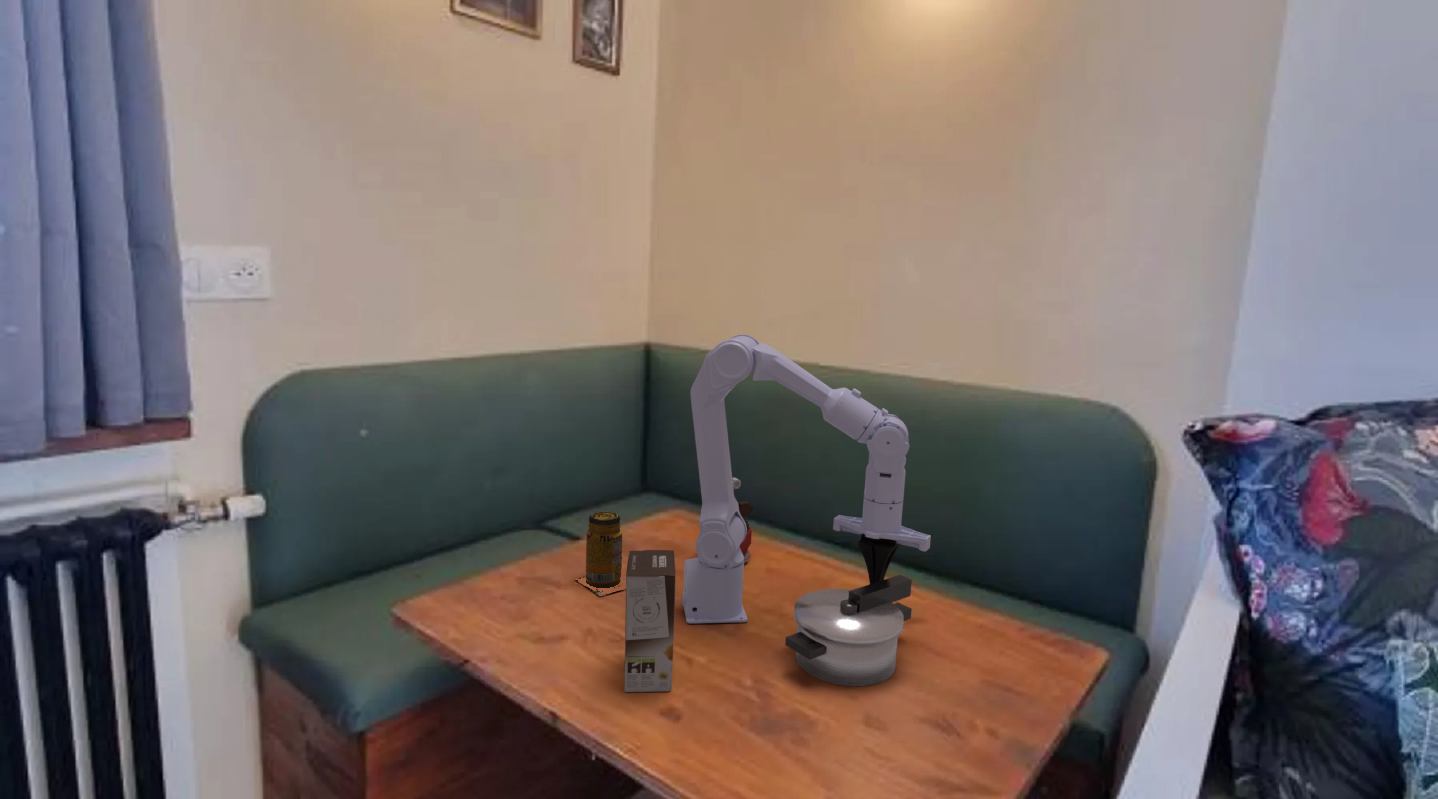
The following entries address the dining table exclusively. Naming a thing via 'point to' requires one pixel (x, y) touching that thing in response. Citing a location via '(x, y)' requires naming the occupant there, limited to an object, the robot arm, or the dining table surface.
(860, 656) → the cooker pot
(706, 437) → the robot arm
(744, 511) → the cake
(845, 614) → the lid
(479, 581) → the dining table surface
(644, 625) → the coffee box
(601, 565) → the condiment
